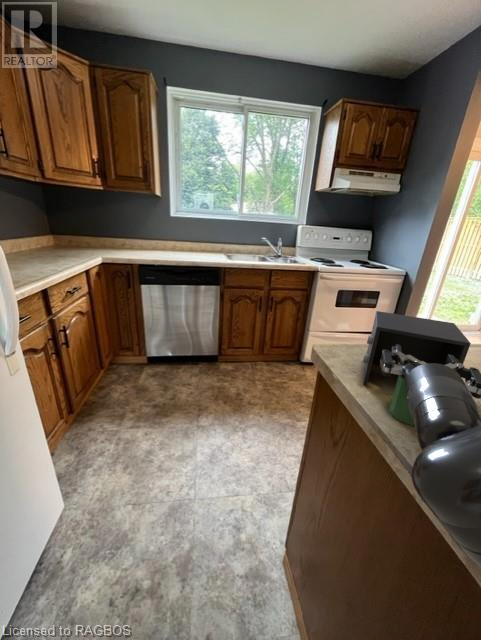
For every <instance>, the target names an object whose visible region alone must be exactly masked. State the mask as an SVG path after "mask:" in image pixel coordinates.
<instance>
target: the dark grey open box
mask: <svg viewBox="0 0 481 640" xmlns="http://www.w3.org/2000/svg"><path fill="white" fill-rule="evenodd" d="M366 344H368V346H367V351H366V353H364V354H363V357H362V363H364V368H363V381H362V384H363V386H368V383H369V378H370V374H371V370H372V366H378V367H381V365H380V359H381V357H382V351H383V350H389V351H390V352H391V349H392V346H396V344H398V345H401V350H402V353H403V354H405V355H411V356H413V357H414V358H416V359H418V360H419V361H424V362H425V363H436V364H442V365H445V362H446V359H447V356H448V355H453V356H454V357H455V358H456V359H458V360H459V362H460V363H461V364H463V365H464V363H465V360H466V357H467V354H468V352H469V349H470V347H471V344H472V342H470V340H469V339H468V338H467V337H466V335H465V334H464V333H463V332H462V331H461V329H460V328H459V327H458V326H457V325H456V323H454V322H449V321H443V320H436V319H430V318H423V317H418V316H410V315H405V314H399V313H392V312H385V311H381V310H380V311H379V310H376V312H375V315H374V320H373V325H372V329H371V333H370V334H368V336H367V340H366ZM400 361H401V359H400V360H399V362H400ZM409 363H411V362H409Z"/></svg>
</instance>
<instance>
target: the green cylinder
mask: <svg viewBox="0 0 481 640" xmlns="http://www.w3.org/2000/svg"><path fill="white" fill-rule="evenodd" d="M409 364H410V363H409ZM388 410H389V413H390V414H391V416H393V417H394V418H395V419H396V420H398V421H400V422H402V423H403V424H407V425H411V426H415V425H414V420H413V418H412V416H411V413H410V410H409V406H408V404H407V394H406V389H405V381H404V379H402V378H401V376H400V375H398V376H397V379H396V382H395V385H394V390H393V393H392V396H391V400H390V404H389V409H388Z"/></svg>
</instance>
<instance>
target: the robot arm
mask: <svg viewBox="0 0 481 640" xmlns="http://www.w3.org/2000/svg"><path fill="white" fill-rule="evenodd" d="M400 359H401V361H400V362H399V360H400ZM409 362H411V363H410V364H409ZM380 365H381V366H380V370H381V375H382V376H384V377H386V378H388V377H389V378H390V377H391V375H396V376H397V375H400V376H401V378H402V379H404V381H405V389H406V394H407V404H408V406H409V410H410V413H411V416H412V418H413V420H414V425H413V426H414V431H415V434H416V435H415V436H416V440H417V442H418V445H419V447H420V449H421V450H420V452H419V453H418V454H417V456H416V458H415V459H414V461H413V464H412V468H411V481H412V485H413V487H414V489H415V491H416V493H417V495H418V496H419V498H421V500H422V501H423V503H424V504H425V505H426V507H427V508H428V510H430V512H432V514H433V515H434V517H435V518H436V519H437V520H438V522H439V523H440V524H441V525H442V527H443V528H444V530H445V531H446V532H447V533H448V534H449V536H450V537H451V538H452V540H453V541H454V543H456V545H457V546H458V547H459V548H460V549H461V551H462V552H463V553H464V554H465V555H466V556H467V557H469V559H470V560H472V561H473V562H474V563H475V564H476V565H478V566H479V567H481V415H480V412H479V408H478V405H477V403H476V401H475V399H479V400H481V371H480V369H478V368H476V367H474V366H473V367H472V366H471V367H469V368H467V367H465V365H464V363H463V364H461V363H460V362H459V360H458V359H456V358H455V357H454V356H453V355H448V356H447V359H446V362H445V365H442V364H436V363H425V362H424V361H419V360H418V359H416V358H414V357H413V356H411V355H405V354H403V353H402V350H401V345H398V344H396V346H392V349H391V352H390V351H389V350H383V351H382V357H381V359H380ZM474 398H475V399H474Z"/></svg>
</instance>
